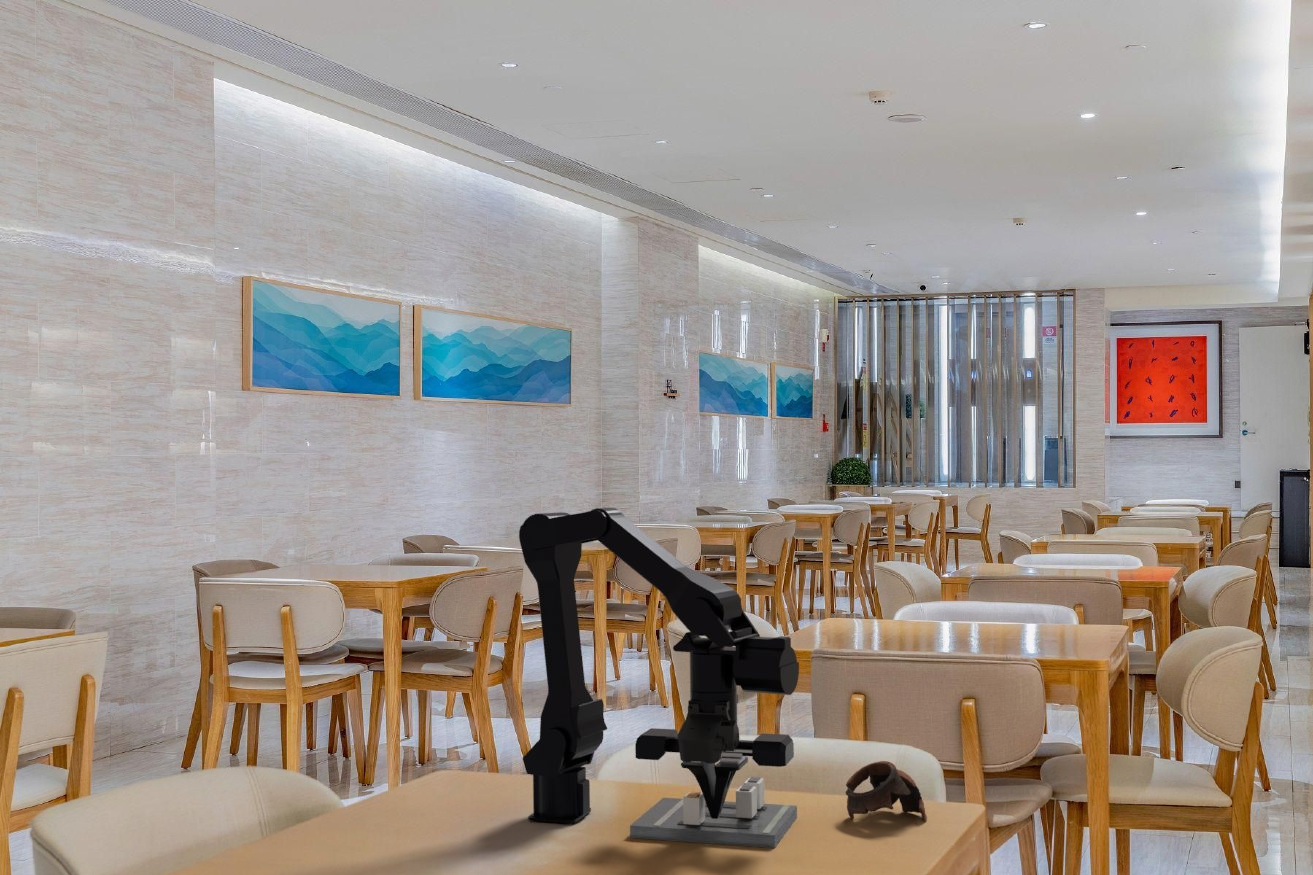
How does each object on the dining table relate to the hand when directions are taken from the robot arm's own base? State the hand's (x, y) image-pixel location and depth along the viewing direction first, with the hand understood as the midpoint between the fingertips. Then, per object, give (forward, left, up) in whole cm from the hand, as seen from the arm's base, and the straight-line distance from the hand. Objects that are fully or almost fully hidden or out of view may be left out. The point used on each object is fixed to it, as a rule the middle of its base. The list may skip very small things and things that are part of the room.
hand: (715, 817), depth 154 cm
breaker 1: (-3, 0, -1) cm, 3 cm away
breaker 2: (+3, +9, -1) cm, 9 cm away
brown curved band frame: (+19, +14, -3) cm, 24 cm away
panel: (-1, +4, -2) cm, 5 cm away
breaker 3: (+3, +5, -1) cm, 5 cm away
